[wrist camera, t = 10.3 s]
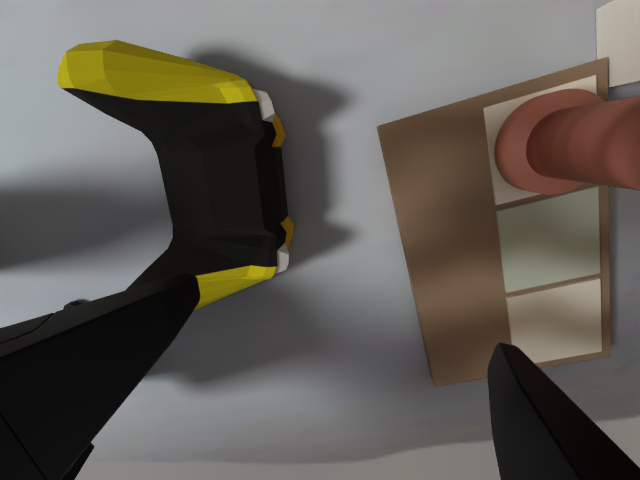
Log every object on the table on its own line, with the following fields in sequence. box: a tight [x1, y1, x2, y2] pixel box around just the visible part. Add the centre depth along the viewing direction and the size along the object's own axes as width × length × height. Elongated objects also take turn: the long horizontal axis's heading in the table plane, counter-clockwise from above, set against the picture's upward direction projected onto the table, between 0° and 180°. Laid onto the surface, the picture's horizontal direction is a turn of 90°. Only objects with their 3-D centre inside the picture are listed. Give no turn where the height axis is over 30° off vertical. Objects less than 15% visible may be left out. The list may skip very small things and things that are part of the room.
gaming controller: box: [58, 40, 294, 310], centre depth 17 cm, size 15×6×10 cm
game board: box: [377, 57, 611, 387], centre depth 19 cm, size 19×12×1 cm, turn 16°
